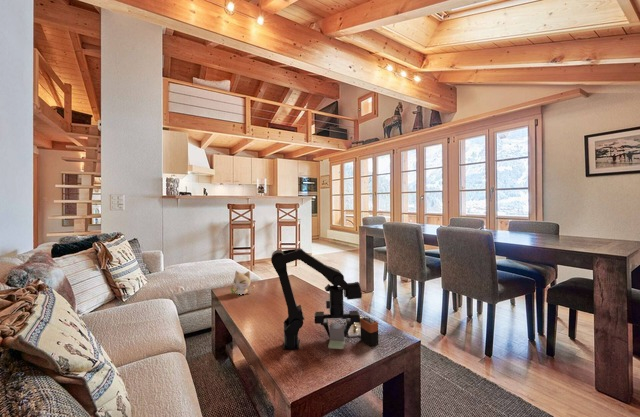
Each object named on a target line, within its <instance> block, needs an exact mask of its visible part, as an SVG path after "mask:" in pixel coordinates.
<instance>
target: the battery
mask: <svg viewBox="0 0 640 417" xmlns="http://www.w3.org/2000/svg"><path fill="white" fill-rule="evenodd" d="M360 326H361V336H360V341H362V342H363V343H365V344H366V345H368V346H369V347H373V346H374V347H375V346H376V345H378V344H379V322H378V321H376V320H375V319H373V318H372V317H370V316H369V315H363V317H362V318H361V319H360Z"/></svg>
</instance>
